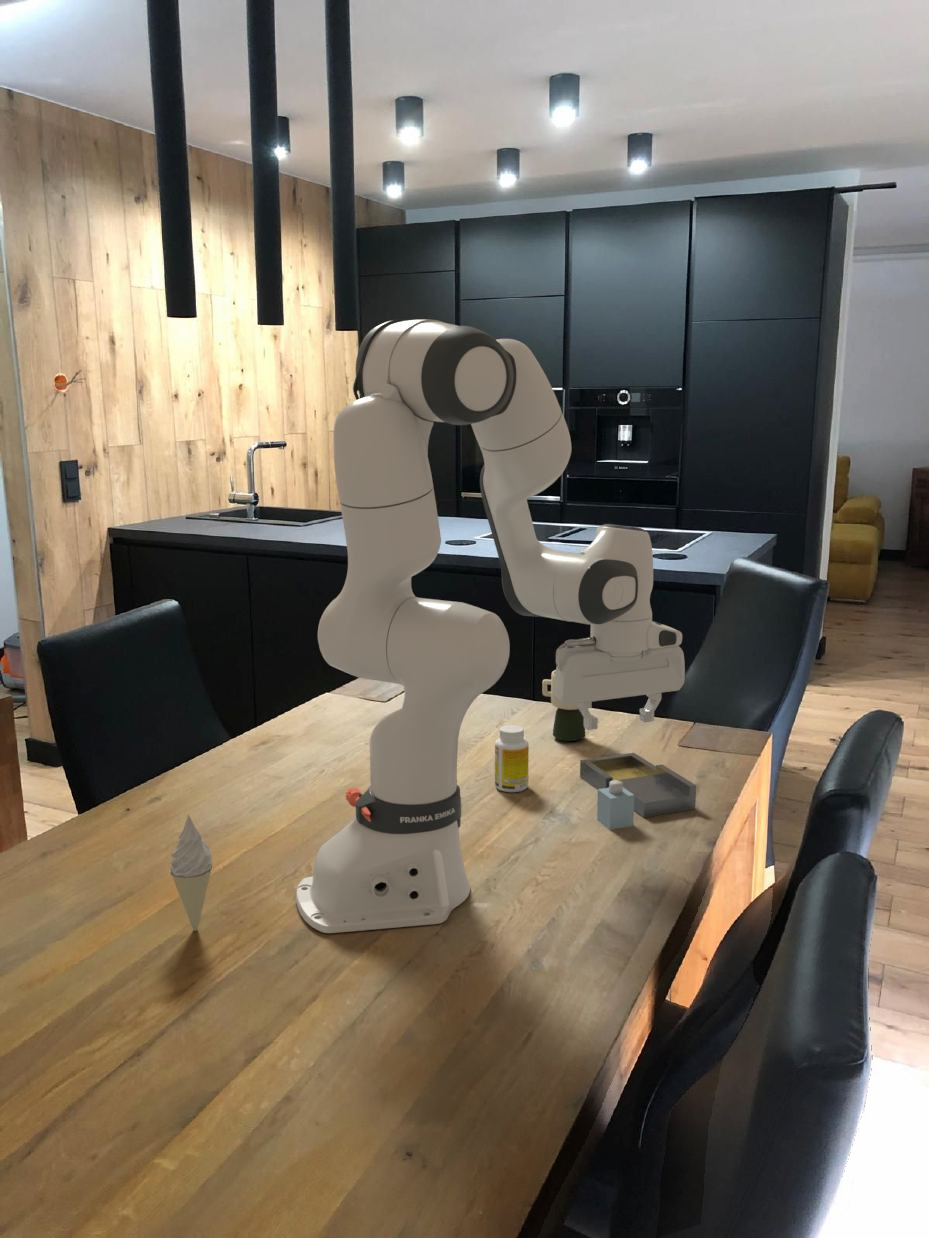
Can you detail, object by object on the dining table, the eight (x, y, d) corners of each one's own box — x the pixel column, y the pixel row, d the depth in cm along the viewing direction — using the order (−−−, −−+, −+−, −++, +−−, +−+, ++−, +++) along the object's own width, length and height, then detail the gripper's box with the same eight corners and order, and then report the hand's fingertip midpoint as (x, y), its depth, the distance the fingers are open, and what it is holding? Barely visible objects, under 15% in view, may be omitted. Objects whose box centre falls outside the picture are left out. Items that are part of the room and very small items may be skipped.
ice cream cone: (196, 944, 118) (188, 825, 114) (164, 934, 120) (156, 817, 117) (225, 925, 122) (218, 810, 119) (194, 915, 124) (187, 802, 121)
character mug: (601, 736, 191) (603, 671, 189) (591, 748, 185) (593, 680, 182) (547, 729, 195) (548, 665, 193) (535, 740, 189) (536, 674, 186)
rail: (636, 818, 153) (637, 794, 152) (580, 776, 170) (580, 754, 170) (695, 809, 156) (696, 785, 156) (633, 768, 174) (634, 747, 173)
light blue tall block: (609, 830, 149) (610, 789, 148) (597, 819, 153) (598, 779, 151) (633, 826, 150) (634, 785, 149) (620, 816, 154) (621, 776, 153)
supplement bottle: (535, 788, 166) (535, 729, 163) (510, 796, 162) (510, 736, 160) (512, 778, 170) (513, 721, 168) (487, 786, 166) (487, 728, 164)
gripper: (566, 646, 139) (565, 740, 142) (692, 632, 146) (688, 722, 149) (546, 636, 145) (546, 726, 148) (669, 623, 152) (666, 710, 155)
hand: (618, 724), depth 149 cm, fingers open, 8 cm apart
